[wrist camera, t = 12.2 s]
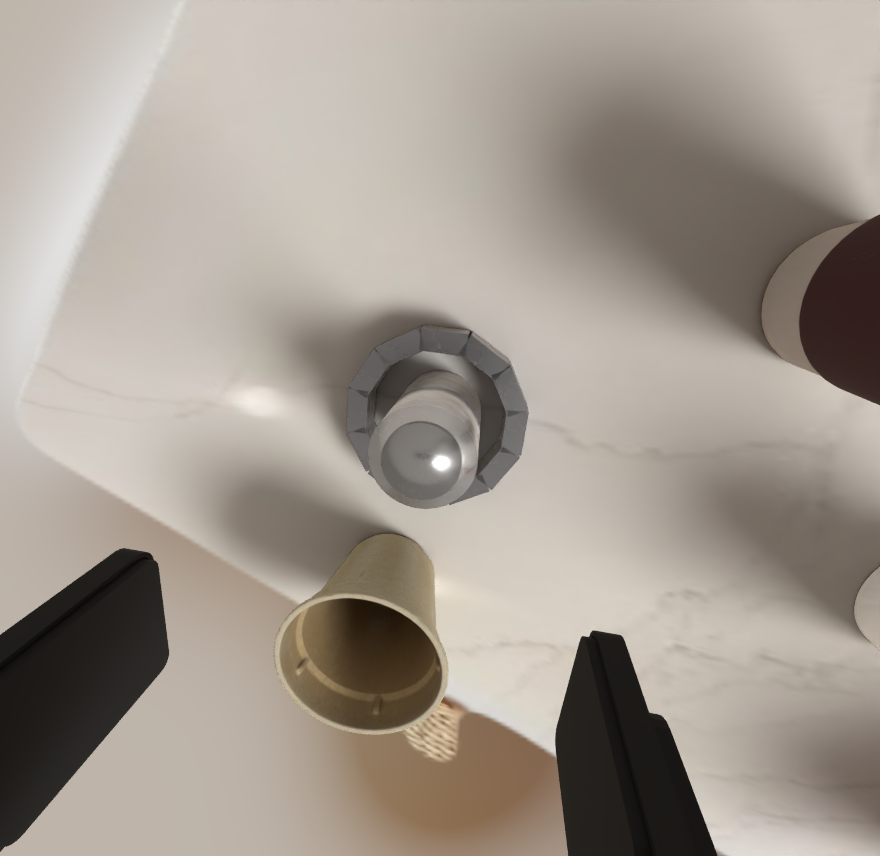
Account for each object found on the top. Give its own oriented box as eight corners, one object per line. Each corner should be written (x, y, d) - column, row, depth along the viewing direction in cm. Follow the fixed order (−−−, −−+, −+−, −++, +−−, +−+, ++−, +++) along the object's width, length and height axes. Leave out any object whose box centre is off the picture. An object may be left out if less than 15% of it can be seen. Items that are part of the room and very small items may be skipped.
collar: (360, 316, 27) (351, 319, 25) (537, 338, 26) (540, 343, 24) (352, 476, 30) (343, 489, 28) (509, 499, 29) (510, 514, 27)
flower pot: (441, 500, 30) (423, 582, 22) (471, 616, 33) (465, 729, 24) (310, 521, 31) (248, 606, 23) (349, 631, 34) (305, 741, 26)
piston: (404, 366, 27) (368, 401, 19) (486, 376, 27) (484, 417, 19) (398, 442, 29) (362, 505, 21) (475, 453, 29) (469, 521, 21)
